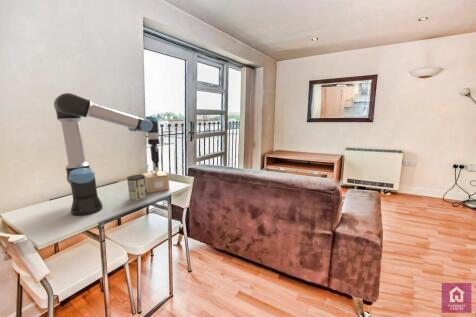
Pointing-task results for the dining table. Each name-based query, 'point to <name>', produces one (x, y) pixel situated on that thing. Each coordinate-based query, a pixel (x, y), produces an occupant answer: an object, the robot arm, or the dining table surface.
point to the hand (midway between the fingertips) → (156, 171)
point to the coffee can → (136, 187)
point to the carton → (155, 182)
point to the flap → (159, 173)
